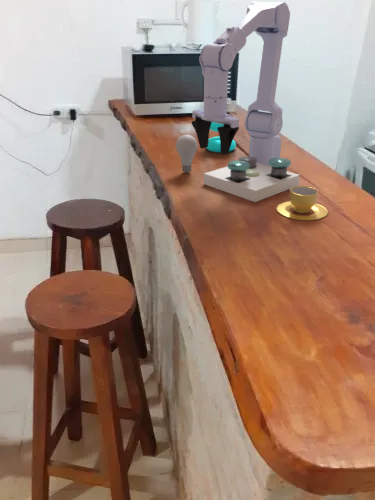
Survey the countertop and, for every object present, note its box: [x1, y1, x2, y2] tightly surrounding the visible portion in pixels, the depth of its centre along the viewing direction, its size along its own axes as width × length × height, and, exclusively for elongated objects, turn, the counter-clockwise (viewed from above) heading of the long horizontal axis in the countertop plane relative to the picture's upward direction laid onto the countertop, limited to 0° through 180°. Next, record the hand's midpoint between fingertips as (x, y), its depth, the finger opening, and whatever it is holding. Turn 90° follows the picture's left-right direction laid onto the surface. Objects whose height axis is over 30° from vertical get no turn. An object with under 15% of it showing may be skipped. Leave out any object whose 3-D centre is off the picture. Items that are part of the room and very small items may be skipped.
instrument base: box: [203, 155, 300, 203], centre depth 136 cm, size 18×18×5 cm
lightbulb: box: [175, 134, 199, 174], centre depth 143 cm, size 6×6×11 cm
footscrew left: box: [269, 157, 292, 180], centre depth 134 cm, size 6×6×5 cm
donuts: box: [205, 122, 237, 153], centre depth 166 cm, size 10×10×10 cm
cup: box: [275, 185, 329, 221], centre depth 120 cm, size 12×12×5 cm
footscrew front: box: [227, 160, 250, 183], centre depth 132 cm, size 6×6×5 cm
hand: (214, 150), depth 131 cm, fingers open, 7 cm apart
